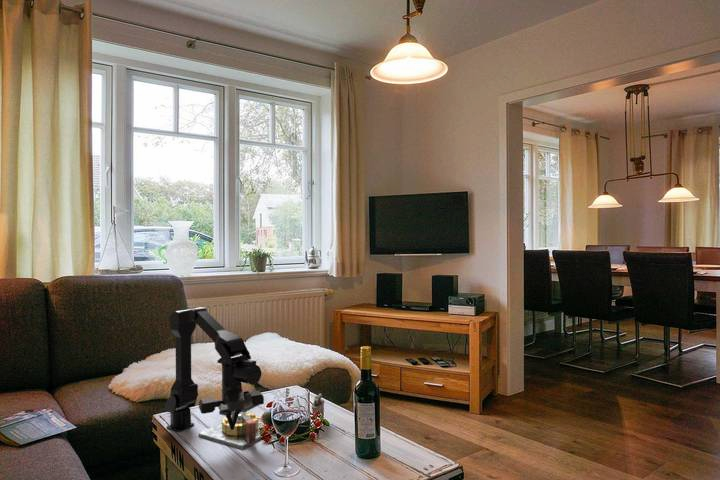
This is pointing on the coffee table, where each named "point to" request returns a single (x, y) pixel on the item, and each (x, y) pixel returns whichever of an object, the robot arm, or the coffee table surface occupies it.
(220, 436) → the grey base plate
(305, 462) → the coffee table surface
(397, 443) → the coffee table surface
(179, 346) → the robot arm
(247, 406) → the phone
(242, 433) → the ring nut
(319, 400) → the lighter
